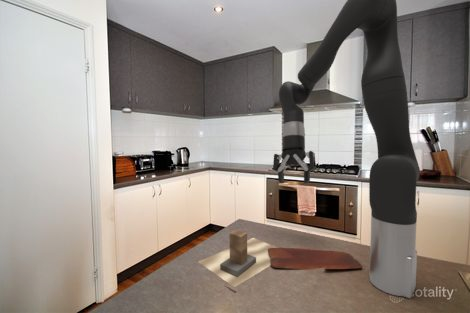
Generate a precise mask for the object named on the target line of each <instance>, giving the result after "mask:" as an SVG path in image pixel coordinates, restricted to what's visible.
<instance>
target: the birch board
mask: <svg viewBox="0 0 470 313" xmlns="http://www.w3.org/2000/svg"><path fill="white" fill-rule="evenodd" d="M269 248H278V247H277V246H275V245H272V244H269V243H267V242H264V241H262V240H260V239H257V238H255V237H251V238H250V239H247V254H248V255H251V256H254V257H256V263H255V264H253V265H252V266H251V267H250V268H248V269H247V270H246V271H245V272H243V273H242V274H241V275H240V276H238V277H236V276H234V275H232V274H229V273H227V272H225V271H223V270H220V264H221V263H223V262H224V261H226V260H227V259H229V258H230V247H228V248H227V249H224V250H222V251H219V252H217V253H215V254H213V255H211V256H207V257H206V258H204V259H201V260H199V261H198V263H199V264H200V265H201V266H203V267H204V268H206V269H208V271H210V272H212V273H213V274H214V275H216V276H217V277H219V278H220V279H222V280H223V281H225V282H227V283H228V284H229V285H230V286H232V287H233V288H236V287H237V286H239V285H241V284H242V283H244V282H246V281H248V280H250V278H252V277H255V276H256V275H257V274H259V273H261V272H262V271H264V270H266V269H267V268H269V267H270V266H271V267H272V265H271V262H270V259H271V258H270V256H269V253H268V249H269ZM224 287H226V288H227V289H228V290H229V291H230V292H232V293H233V294H235V293H237V291H236V290H234V289H233V288H230V287H229V286H226V285H224Z"/></svg>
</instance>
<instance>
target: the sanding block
mask: <svg viewBox="0 0 470 313" xmlns="http://www.w3.org/2000/svg"><path fill="white" fill-rule="evenodd" d="M228 234H229V235H228V236H229V248H230V258H229V259H227V260H226V261H224V262H223V263H221V264H220V270H223V271H225V272H227V273H229V274H232V275H234V276H236V277H238V276H240V275H241V274H242V273H243V272H245V271H246V270H247V269H248V268H250V267H251V266H252V265H253V264H255V263H256V257H254V256H251V255H248V254H247V240H248V232H244V231H241V230H237V229H235V230H233V231H231V232H229V233H228Z"/></svg>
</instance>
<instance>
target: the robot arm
mask: <svg viewBox="0 0 470 313" xmlns="http://www.w3.org/2000/svg"><path fill="white" fill-rule="evenodd" d="M357 29H358V30H361V31H362V32H363V34H364V38H365V44H366V50H367V52H366V54H367V55H366V56H367V57H366V60H365V64H364V67H363V71H362V75H361V84H360V85H361V94H362V99H363V106H364V109H365V112H366V115H367V118H368V120H369V123H370V125H371V128H372V129H373V132H374V135H375V140H376V147H377V159H376V160H375V161H374V162H372V165H371V167H370V169H369V178H368V180H369V181H368V182H369V184H368V185H369V186H368V187H369V188H368V189H369V190H368V192H369V193H368V195H369V196H368V198H369V199H368V200H369V206H370V209H371V210H370V211H371V214H370V215H371V217H370V250H369V252H370V253H369V254H370V255H369V281H370V282H371V284H372V286H374V287H375V288H377V289H378V290H380V291H382V292H383V293H387V294H390V295H393V296H399V297H405V298H407V299H412V297H413V294H414V292H415V290H416V285H417V284H416V283H417V282H416V281H417V261H418V251H417V250H416V243H417V242H416V241H417V239H416V238H417V221H418V220H417V216H418V212H417V206H416V202H417V198H416V197H417V182H418V181H419V179H420V177H421V176H420V175H421V170H420V166H419V162H418V159H417V155H416V152H415V149H414V146H413V142H412V138H411V133H410V112H409V100H408V91H407V90H408V89H407V84H406V83H407V82H406V78H405V72H404V68H403V61H402V56H401V50H400V45H399V37H398V35H399V34H398V5H397V0H346V1H345V3H344V4H343V6H342V8H341V10H340V11H339V12H338V15H337V16H336V18H335V20H334V21H333V23H332V24H331V26H330V27H329V29H328V31H327V32H326V35H325V36H324V37H323V39H322V41H321V42H320V44H319V45H318V47H317V48H316V50H315V51H314V53H313V54H312V55H311V57H310V58H308V60H307V61H306V63H305V64H303V66H302V67H301V68H300V70H299V71H298V73H297V79H298V81H299V82H300V83H301V84H299V83H295V82H293V81H284V82H283V83H281V85H280V87H279V91H278V99H279V104H280V106H281V110H282V113H283V121H282V122H283V126H282V153H281V154H278V153H274V155H273V165H272V170H273V171H276V172H277V178H278V182H279V184H285V170H286V169H287V168H289V167H293V166H295V167H298V166H301V167H302V169H303V170H304V171H303V184H309V182H310V181H311V172H312V171H315V170H316V169H317V164H316V153H315V152H314V151H313V150H309V151H307V152H306V142H305V141H306V139H305V138H306V133H305V132H306V131H305V119H304V118H305V116H304V115H305V111H304V109H303V108H302V107H300V106H299V105H302V104H304V103H306V102H307V100H308V99H309V97H310V95H311V93H313V92H312V91H313V90H314V88H315V86H316V84H317V83H318V82H320V80H322V78H323V77H324V76H325V75H326V74H327V73H328V71H329V70H330V69H331V67H332V66H333V64H334V61H335V59H336V57H337V54H338V52H339V50H340V47H341V46H342V45H343V43H344V41H346V39H347V38H349V37H350V35H351V34H353V32H354V31H355V30H357ZM306 157H307V158H308V159H309V160H308V162H309V166H308V164H307V162H305V158H306ZM281 160H283V161H282V162H281V163H280V161H281Z"/></svg>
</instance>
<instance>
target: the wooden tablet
mask: <svg viewBox="0 0 470 313" xmlns="http://www.w3.org/2000/svg"><path fill="white" fill-rule="evenodd" d="M268 253H269V256H270V258H271V259H270V262H271V267H272V268H278V269H289V270H290V269H294V270H295V269H296V270H316V269H324V270H346V269H347V270H348V269H352V270H353V269H360V268H361V269H362V268H363V265H362V264H361V263H360V261H358V259H356V258H355V257H354V256H353V255H351V254H350V253H349V252H344V251H337V250H323V249H315V248H314V249H312V248H302V247H301V248H300V247H299V248H298V247H277V248H269V249H268Z"/></svg>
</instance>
